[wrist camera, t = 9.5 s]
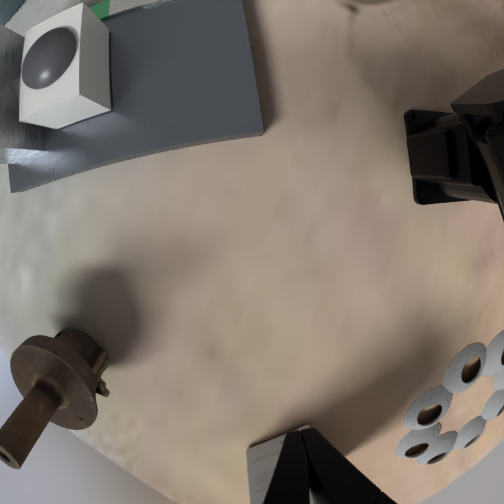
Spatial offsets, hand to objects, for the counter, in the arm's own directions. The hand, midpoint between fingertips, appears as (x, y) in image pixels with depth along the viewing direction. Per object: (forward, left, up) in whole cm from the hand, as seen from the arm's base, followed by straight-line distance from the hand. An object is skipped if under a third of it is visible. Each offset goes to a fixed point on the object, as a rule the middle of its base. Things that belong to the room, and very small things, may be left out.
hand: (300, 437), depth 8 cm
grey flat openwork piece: (-21, +18, -13) cm, 30 cm away
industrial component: (+15, +4, -12) cm, 19 cm away
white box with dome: (+10, -17, -10) cm, 23 cm away
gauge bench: (+8, -16, -12) cm, 21 cm away
